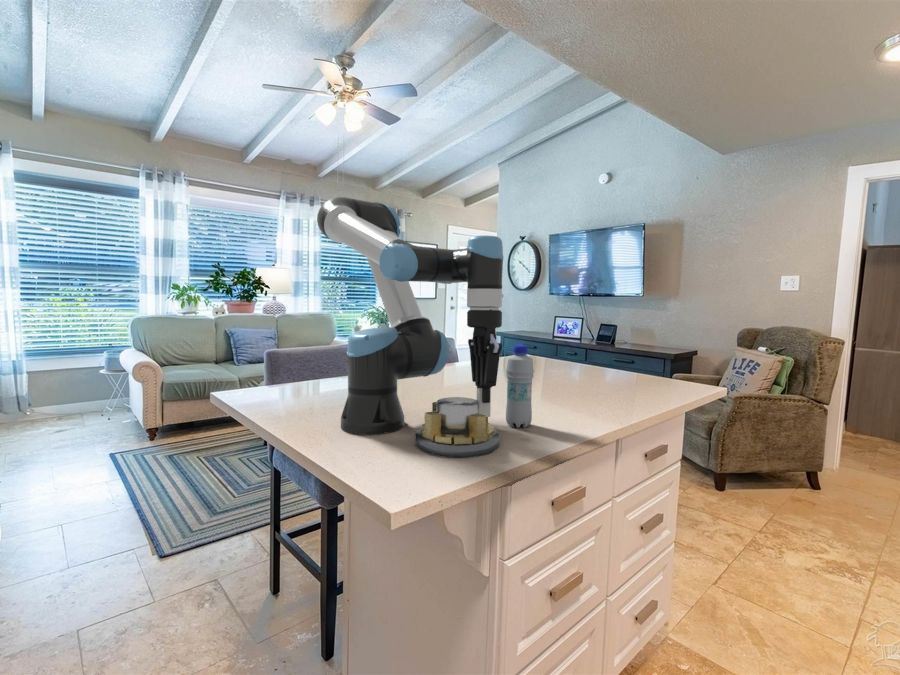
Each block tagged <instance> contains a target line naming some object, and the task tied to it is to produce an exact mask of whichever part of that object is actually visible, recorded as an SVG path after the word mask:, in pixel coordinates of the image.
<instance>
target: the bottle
mask: <svg viewBox="0 0 900 675" xmlns="http://www.w3.org/2000/svg"><path fill="white" fill-rule="evenodd" d="M512 352H513V353H512V355H511V356H509V357H508V358H507V362H506V369H505V372H506V379H507V383H506V384H507V385H506V386H507V387H506V390H507V391H506V407H505V421H506V423H507V425H509V426H510V427H511V428H513V427H514V426H516V428H517V429H519V428H520V427H521V425H522V428H524V429H525V428H527V427H529V426H530V425H531V423H532V421H533V420H532V417H533V415H532V414H533V411H532V393H533V390H532V388H533V386H532V385H533V378H534V372H535V370H534V362H533V360H534V359H533V357H530V356H529V355H528V347H527V345H524V344H516V345H514V346H513V349H512Z"/></svg>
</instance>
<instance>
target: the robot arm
mask: <svg viewBox="0 0 900 675" xmlns="http://www.w3.org/2000/svg"><path fill="white" fill-rule="evenodd" d="M316 215H317V216H316V220H317V221H316V223H317V226H318V227H317V228H318V229H319V230H320V232H321V233H322V235H324V236H325V237H326V238H327V239H328V240H331V241H333V242H335V243H337V244H338V243H339V244H344V245H346V246H348V247H349V248H352V249H353V250H354V251H356V252H357V253H359V254H361V255H362V256H364V257H365V258H366V259H367V262H368V265H369V267H370V271H371V273H372V276H373V279H374V281H375V285H376V287H377V290H378V293H379V295H380V298H381V302H382V305H383V307H384V310H385V312H386V316H387V319H388V321H389V324H390V327H389V326H383V327H371V328H365V329H360V330H357V331H355V332H353V333H351V334H349V337H348V339H347V340H348V341H347V349H346V355H347V398H346V400H345V404H344V406H343V410H342V413H341V416H340V428H341V430H343V431H345V432H348V433H350V434H357V435H381V434H388V433H394V432H397V431H399V430H401V429H403V428H404V426H405V414H404V411H403V408H402V405H401V401H400V398H399V395H398V380H404V379H413V378H419V377H429V376H432V375H436V374H438V373H439V372H441V371H442V370H444V368H445V366H446V365H447V363H448V357H449V353H450V352H449V351H450V346H449V341H448V338H447V337H446V335H445V333H443V332H442V331H441V330H437V329H434V328H433V326H432V323H431V320H430V318H428V317H426V316H423V315H422V313H421V310H420V308H419V305H418V303H417V302H418V301H417V299H416V297H415V295H414V291H413V289H412V287H411V284H410V282H420V283H421V282H422V283H425V282H426V283H438V284H444V285H445V284H447V285H448V284H449V285H450V284H458V283H467V286H466V287H467V289H466V307H467V308H469V310H467V312H466V316H467V319H466V325H467V327H468V328H473V332H472V338H469V339H468V340H467V344H468V347H469V355H470V357H469V358H470V367H471V380H472V382H473V383H475V384H474V385H475V387H476V400H477V401H479V414H482V415H485V416H486V417H488V418H490V417H491V404H492V403H491V402H492V401H491V399H492V395H491V394H492V391H491V390H492V388H493V387H496V385H497V382H498V380H497V379H498V373H499V364H500V356H501V353H502V352H501V351H502V348H503V344H502V343H501V342H497V332H496V329H498V328H501V327H502V326H503V323H502V322H503V311H502V310H500V308H502V307H503V298H504V294H503V270H504V269H503V268H504V267H503V266H504V253H503V252H504V251H503V250H504V249H503V248H504V246H503V240H502V239H501V238H500V237H499V236H496V235H474V236H470V237H469V238H468V240H467V246H466V248H459V249H458V248H457V249H450V248H449V249H447V248H440V247H439V248H437V247H436V248H435V247H427V246H419V245H414V244H412V243H409V242H408V241H406V240H404V239H402V238H400V236H401V230H402V229H401V228H400V227H401V226H402V225H401V221H400V217H399V214H398V213H397V211H396V209H394V208H393V207H392V206H391V205H388V204H384V203H382V202H379V201H377V202H373V201H367V200H360V199H355V198H351V197H345V196H343V197H342V196H339V197H333V198H331V199H327V200H326V201H325V202H324V203H323V204H322V205H321V206H320V207H319V210H318V212H317V214H316Z"/></svg>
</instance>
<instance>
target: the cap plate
mask: <svg viewBox="0 0 900 675" xmlns="http://www.w3.org/2000/svg"><path fill="white" fill-rule="evenodd" d="M436 402H437V412H438V413H441V433H445V434H453V435H463V434H469V415H471V414H477V413H479V401H477V399H475V398H471V397H470V398H469V397H465V396H464V397H463V396H461V397H460V396H449V397H444V398H443V397H442V398H439V399H438V400H436ZM414 435H415V437H414V439H415V441H414V442H415V446H416V448H417V449H418V450H419V451H422V452H424V453H426V454H429V455H432V456H437V457H440V458H441V457H443V458H454V459H456V458H457V459H466V458H467V459H468V458H476V457H482V456H486V455H489V454H491V453H493V452H495V451H497V450H498V449H499V448H500V434H499V431H498V430H496V429H494V436H493V437H491V438H490V439H489V440H487V441H483V442H479V443H475V444H474V443H472V444H454V443H452V444H446V443H439V442H435V441H431V440H429V439H427V438H425V437H423V436H422V433H421V427H420V428H419V429H417V430H416V431H415V433H414Z"/></svg>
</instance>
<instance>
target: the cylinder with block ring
mask: <svg viewBox="0 0 900 675" xmlns="http://www.w3.org/2000/svg"><path fill="white" fill-rule="evenodd" d="M431 409H432V410H431V411H427V412H426V411H425V412H424V423H422V424H421V425H420V428H421V433H422V436H423V437H425V438H427V439H429V440H431V441H435V442H439V443H446V444H452V443H454V444H472V443H474V444H475V443H479V442H483V441H487V440H489V439H490V438H491V437H493V436H494V430H495V427H494V426H493V424H492V423H490V422H489V417H486V416H485V415H482V414H479V413H477V414H471V415H469V434H463V435H453V434H445V433H441V413H438V412H437V401H435V402H434V401H433V402H432V405H431Z"/></svg>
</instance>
